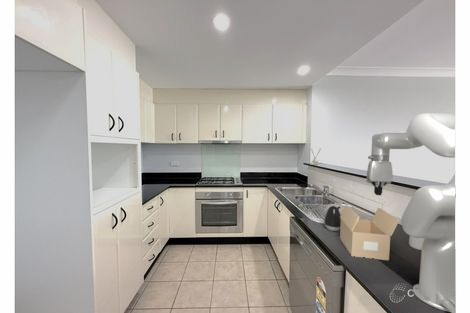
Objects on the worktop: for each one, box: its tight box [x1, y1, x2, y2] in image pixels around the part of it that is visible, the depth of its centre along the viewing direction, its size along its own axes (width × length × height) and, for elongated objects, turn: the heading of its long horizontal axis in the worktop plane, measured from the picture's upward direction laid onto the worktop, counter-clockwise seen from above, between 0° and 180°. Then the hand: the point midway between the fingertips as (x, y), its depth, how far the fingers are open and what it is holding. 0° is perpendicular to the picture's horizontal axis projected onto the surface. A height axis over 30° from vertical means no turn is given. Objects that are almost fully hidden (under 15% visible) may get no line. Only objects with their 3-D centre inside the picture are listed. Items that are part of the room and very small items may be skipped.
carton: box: [339, 219, 391, 261], centre depth 109 cm, size 20×16×12 cm
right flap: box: [371, 207, 400, 237], centre depth 107 cm, size 20×8×1 cm
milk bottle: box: [408, 235, 425, 251], centre depth 111 cm, size 8×8×20 cm
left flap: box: [340, 204, 360, 232], centre depth 110 cm, size 20×8×1 cm
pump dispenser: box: [323, 205, 341, 232], centre depth 132 cm, size 10×10×15 cm
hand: (378, 194), depth 106 cm, fingers closed
